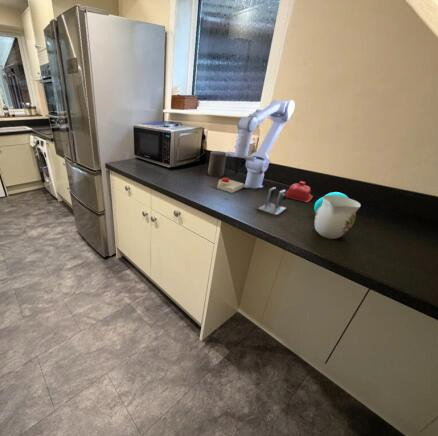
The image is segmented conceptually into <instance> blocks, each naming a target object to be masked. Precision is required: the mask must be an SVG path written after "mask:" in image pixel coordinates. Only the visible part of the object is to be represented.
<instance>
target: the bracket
mask: <svg viewBox="0 0 438 436" xmlns="http://www.w3.org/2000/svg"><path fill="white" fill-rule="evenodd" d="M274 190H277V187H276V186H273V187H271V188H269V189H268V193H267V197H266V200H265V203H264V204H263V205H261V206H259V207H258V208H257V210H259V211H262V212H264V213H268V214H270V215H273V216H278V215H280V214H281V213H282V212H284V211H285V210H287V207H286V206H282V204H283V201H284V200H283V198H284V195H285V192H286V191H287V190H286V189H282V190H279V191H280V192H279V194H278V197H276V201H275V203H273V200H274V197H275V196H273V195H272V193H273V191H274Z"/></svg>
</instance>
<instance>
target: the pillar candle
mask: <svg viewBox="0 0 438 436" xmlns="http://www.w3.org/2000/svg"><path fill="white" fill-rule="evenodd" d="M226 152H227V151H222V150H221V151H220V150H213V151H211V152H210V153H209V154H210V155H209V162H208V169H207V175H208V176H209V177H214V178H215V177H216V178H220V177H223V176H224V175H225V168H226V162H227V156H226Z"/></svg>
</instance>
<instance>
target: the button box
mask: <svg viewBox="0 0 438 436" xmlns="http://www.w3.org/2000/svg"><path fill="white" fill-rule="evenodd" d="M216 185H217V186H216V188H217V189H219V190H221V191H225V192H228V193H231V194H233V193H235V192H237V191H239V190H241V189H243V188H244V189H245V187H244V185H245V183H243V182H239V181H236V180H233V179H229V182H222V178H221V179H219V180H218V184H216Z"/></svg>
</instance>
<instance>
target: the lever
mask: <svg viewBox="0 0 438 436" xmlns="http://www.w3.org/2000/svg"><path fill="white" fill-rule="evenodd" d="M280 191H281V190H278V189H276V190H274V191H273V193H272V195H273V196H274V197H276V198H278V194H279V192H280ZM286 199H287V197H286V195H284V198H283V201H285V200H286Z"/></svg>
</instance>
